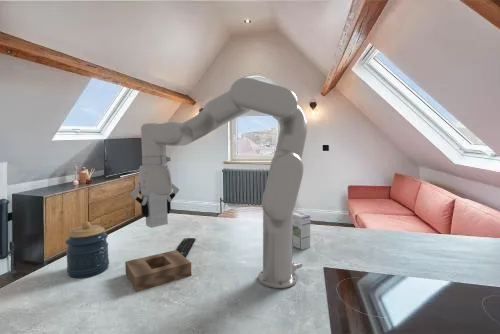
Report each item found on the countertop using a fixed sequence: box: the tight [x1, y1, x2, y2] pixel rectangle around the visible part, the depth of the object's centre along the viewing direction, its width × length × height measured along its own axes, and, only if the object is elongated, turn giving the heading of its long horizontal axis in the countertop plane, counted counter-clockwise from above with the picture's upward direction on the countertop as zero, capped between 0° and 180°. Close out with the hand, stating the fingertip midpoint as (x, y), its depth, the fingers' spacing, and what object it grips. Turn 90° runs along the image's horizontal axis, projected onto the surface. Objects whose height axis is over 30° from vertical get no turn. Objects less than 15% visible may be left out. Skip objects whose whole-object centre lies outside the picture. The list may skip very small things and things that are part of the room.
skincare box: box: [145, 192, 169, 229], centre depth 94 cm, size 6×4×12 cm
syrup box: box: [292, 211, 311, 251], centre depth 121 cm, size 6×6×14 cm
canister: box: [64, 221, 110, 279], centre depth 99 cm, size 13×13×18 cm
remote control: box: [176, 237, 196, 259], centre depth 119 cm, size 5×24×1 cm, turn 0°
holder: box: [124, 249, 192, 292], centre depth 96 cm, size 18×14×4 cm
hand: (156, 214), depth 94 cm, fingers closed on skincare box, 6 cm apart
